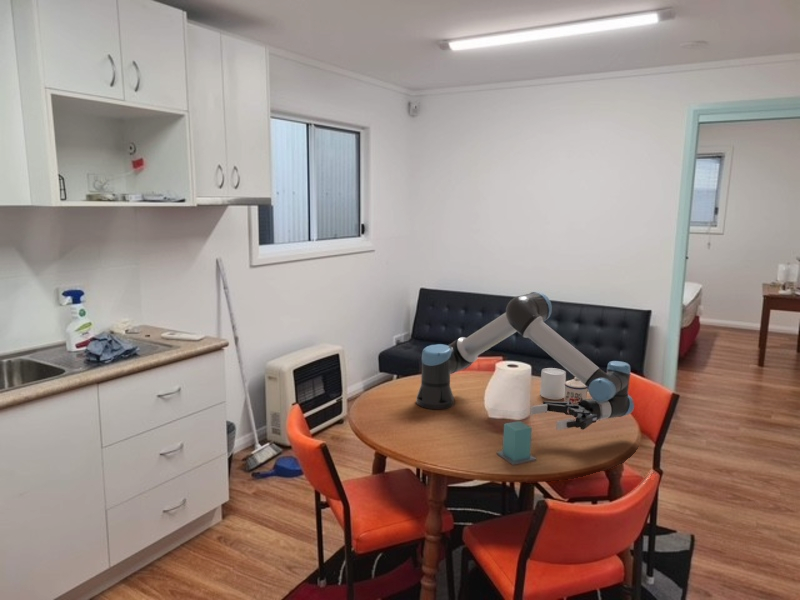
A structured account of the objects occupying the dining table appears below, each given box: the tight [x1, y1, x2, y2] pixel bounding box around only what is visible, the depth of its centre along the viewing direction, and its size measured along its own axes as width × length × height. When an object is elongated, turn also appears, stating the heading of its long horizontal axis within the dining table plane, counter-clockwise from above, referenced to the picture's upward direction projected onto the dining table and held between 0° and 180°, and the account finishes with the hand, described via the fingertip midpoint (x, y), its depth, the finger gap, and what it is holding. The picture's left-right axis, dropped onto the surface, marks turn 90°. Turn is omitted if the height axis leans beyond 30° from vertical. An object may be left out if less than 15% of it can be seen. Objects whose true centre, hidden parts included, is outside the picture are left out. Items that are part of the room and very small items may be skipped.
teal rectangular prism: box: [502, 420, 533, 461], centre depth 182 cm, size 6×6×10 cm
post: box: [496, 450, 537, 466], centre depth 183 cm, size 9×9×8 cm
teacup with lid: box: [563, 376, 589, 405], centre depth 230 cm, size 12×9×12 cm
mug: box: [539, 367, 567, 400], centre depth 244 cm, size 14×10×11 cm
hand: (543, 417), depth 186 cm, fingers open, 13 cm apart
